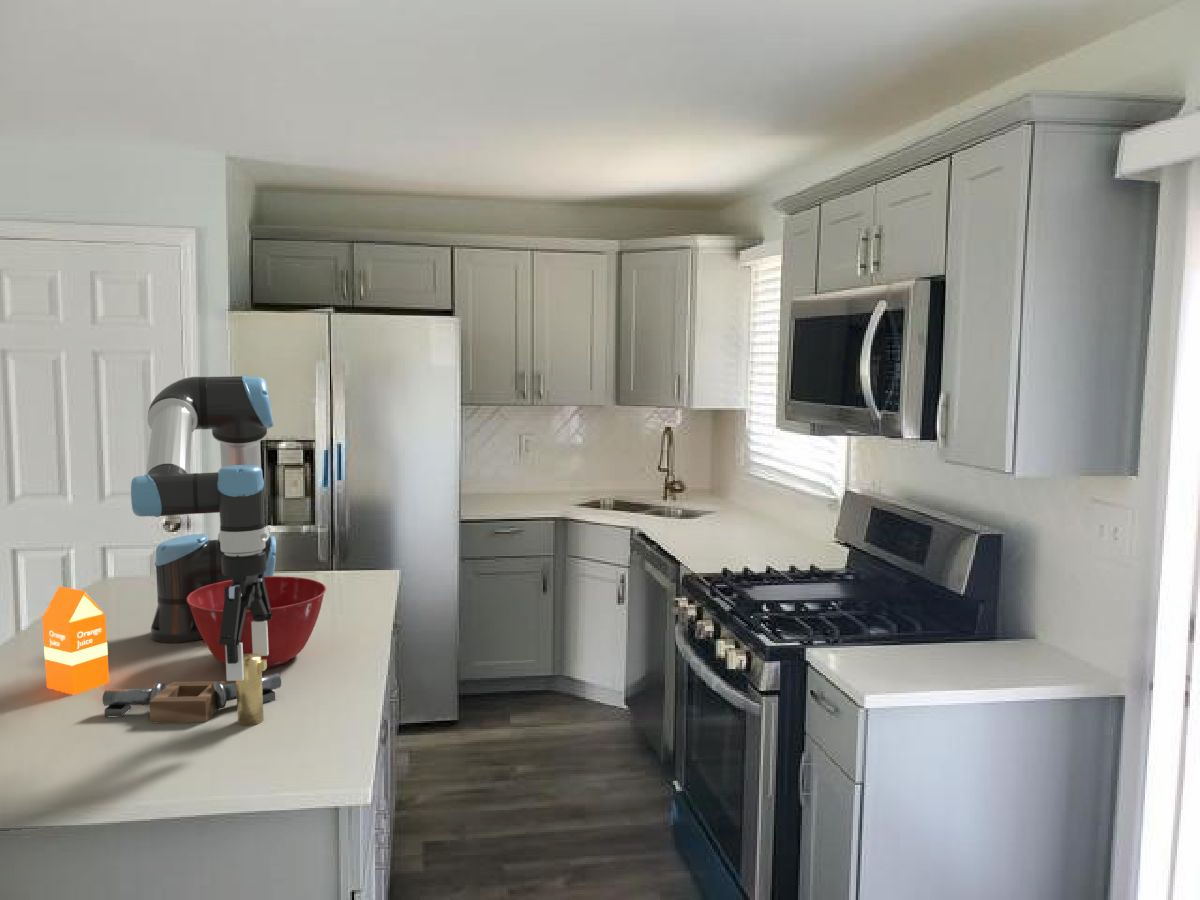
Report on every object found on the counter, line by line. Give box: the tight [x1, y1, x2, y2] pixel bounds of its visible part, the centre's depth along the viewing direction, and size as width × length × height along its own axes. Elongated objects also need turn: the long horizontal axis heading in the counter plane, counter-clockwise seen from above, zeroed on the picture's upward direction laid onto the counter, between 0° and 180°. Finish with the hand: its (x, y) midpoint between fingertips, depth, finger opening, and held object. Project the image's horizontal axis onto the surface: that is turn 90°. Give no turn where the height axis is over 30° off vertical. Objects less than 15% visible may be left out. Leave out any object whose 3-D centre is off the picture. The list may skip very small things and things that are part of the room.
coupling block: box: [148, 680, 226, 724], centre depth 171 cm, size 10×10×4 cm
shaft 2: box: [211, 672, 282, 710], centre depth 175 cm, size 12×5×6 cm, turn 133°
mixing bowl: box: [187, 575, 327, 669], centre depth 199 cm, size 28×28×16 cm
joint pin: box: [235, 653, 268, 727], centre depth 166 cm, size 4×6×12 cm
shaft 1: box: [102, 682, 167, 718], centre depth 170 cm, size 10×5×6 cm, turn 93°
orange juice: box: [41, 586, 110, 696], centre depth 183 cm, size 8×9×20 cm
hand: (248, 667), depth 165 cm, fingers open, 13 cm apart
